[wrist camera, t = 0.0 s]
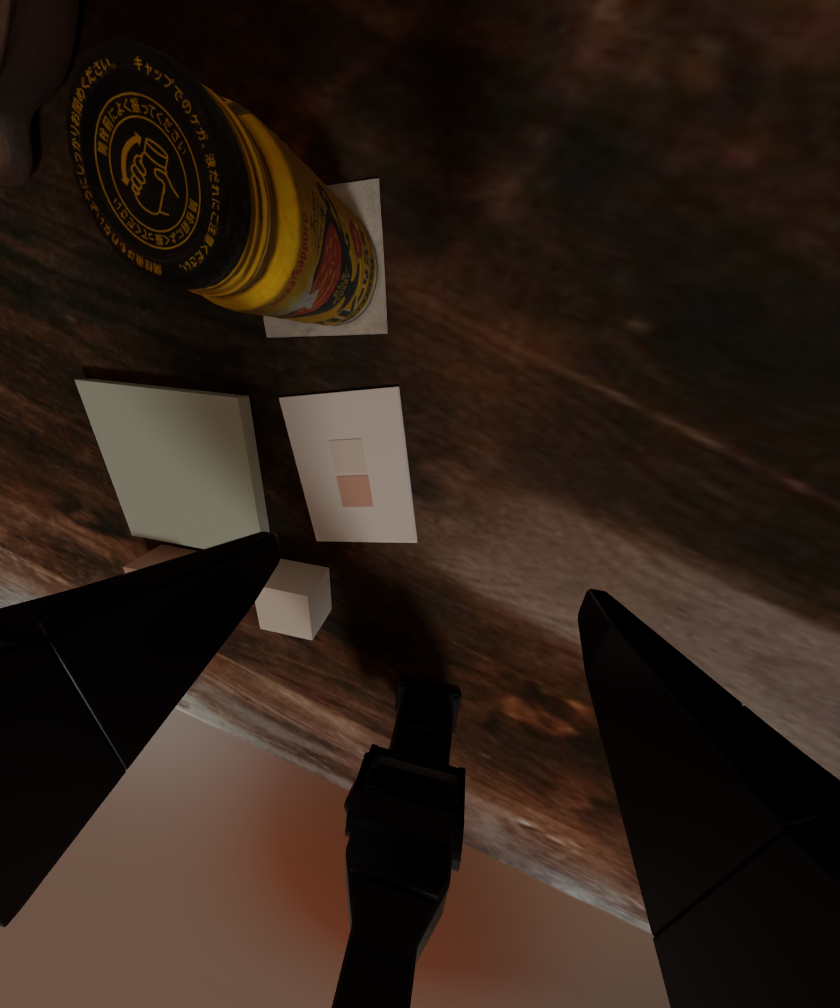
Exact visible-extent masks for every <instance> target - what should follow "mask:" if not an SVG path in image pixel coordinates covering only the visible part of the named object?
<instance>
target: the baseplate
mask: <svg viewBox="0 0 840 1008" xmlns="http://www.w3.org/2000/svg"><path fill="white" fill-rule="evenodd" d="M75 382H76V385H77V388H78V390H79V393H80V396H81V399H82V401H83V404H84V407H85V409H86V412H87V415H88V417H89V420H90V423H91V426H92V428H93V431H94V434H95V436H96V439H97V442H98V445H99V447H100V450H101V453H102V455H103V458H104V461H105V463H106V466H107V469H108V472H109V474H110V477H111V480H112V482H113V485H114V488H115V490H116V493H117V496H118V499H119V501H120V504H121V507H122V509H123V512H124V515H125V517H126V520H127V523H128V526H129V528H130V531H131V534H132V535H133V536H138V537H143V538H149V539H154V540H159V541H164V542H170V543H175V544H180V545H185V546H191V547H196V548H201V549H206V548H209V547H213V546H216V545H219V544H222V543H226V542H229V541H232V540H235V539H239V538H242V537H245V536H248V535H252V534H255V533H258V532H262V531H265V532H270V531H269V524H268V518H267V511H266V505H265V498H264V491H263V485H262V478H261V472H260V465H259V459H258V452H257V446H256V439H255V432H254V426H253V419H252V413H251V406H250V400H249V396H245V395H236V394H226V393H217V392H208V391H199V390H190V389H181V388H172V387H163V386H154V385H145V384H136V383H126V382H117V381H108V380H99V379H79V380H75Z"/></svg>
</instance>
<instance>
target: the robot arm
mask: <svg viewBox="0 0 840 1008" xmlns="http://www.w3.org/2000/svg"><path fill="white" fill-rule="evenodd" d="M279 561H280V549H279V542H278V537H277V535H276V534H275V533H271V532H265V531H262V532H258V533H255V534H252V535H248V536H245V537H242V538H239V539H235V540H232V541H229V542H226V543H222V544H219V545H216V546H213V547H209V548H206V549H203V550H200V551H196V552H193V553H190V554H187V555H183V556H180V557H177V558H174V559H170V560H167V561H164V562H161V563H157V564H154V565H151V566H148V567H144V568H141V569H138V570H135V571H131V572H128V573H126V574H125V575H124V574H121V575H118V576H115V577H112V578H108V579H105V580H102V581H98V582H95V583H92V584H88V585H85V586H81V587H78V588H74V589H71V590H67V591H64V592H60V593H56V594H53V595H49V596H45V597H42V598H38V599H34V600H30V601H27V602H23V603H19V604H15V605H11V606H8V607H4V608H0V926H1V927H6V926H7V925H8V924H9V923H10V921H11V920H12V919H13V918H14V917H15V916H16V914H17V913H18V912H19V911H20V910H21V908H22V907H23V906H24V904H25V903H26V902H27V901H28V899H29V898H30V897H31V895H32V894H33V893H34V891H35V890H36V889H37V887H38V886H39V884H40V883H41V882H42V881H43V880H44V878H45V877H46V876H47V874H48V873H49V872H50V870H51V869H52V868H53V866H54V865H55V864H56V863H57V861H58V860H59V858H60V857H61V856H62V855H63V853H64V852H65V851H66V849H67V848H68V847H69V846H70V844H71V843H72V842H73V840H74V839H75V838H76V836H77V835H78V834H79V832H80V831H81V830H82V829H83V827H84V826H85V825H86V823H87V822H88V821H89V819H90V818H91V817H92V815H93V814H94V813H95V811H96V810H97V809H98V807H99V806H100V805H101V803H102V802H103V801H104V800H105V798H106V797H107V796H108V794H109V793H110V792H111V791H112V789H113V788H114V787H115V785H116V784H117V783H118V781H119V780H120V779H121V777H122V776H123V775H124V774H125V772H126V769H128V768H129V766H130V765H131V764H132V763H133V761H134V760H135V759H136V758H137V756H138V755H139V754H140V752H141V751H142V750H143V748H144V747H145V746H146V744H147V743H148V742H149V740H150V739H151V738H152V736H153V735H154V734H155V733H156V731H157V730H158V729H159V727H160V726H161V725H162V723H163V722H164V721H165V720H166V718H167V717H168V715H169V714H170V713H171V712H172V710H173V709H174V708H175V706H176V705H177V704H178V703H179V701H180V700H181V699H182V697H183V696H184V695H185V693H186V692H187V691H188V689H189V688H190V687H191V686H192V684H193V683H194V682H195V680H196V679H197V678H198V676H199V675H200V674H201V672H202V671H203V670H204V669H205V667H206V666H207V665H208V663H209V662H210V661H211V659H212V658H213V657H214V655H215V654H216V653H217V652H218V650H219V649H220V648H221V646H222V645H223V644H224V642H225V641H226V640H227V638H228V637H229V636H230V635H231V633H232V632H233V631H234V629H235V628H236V627H237V625H238V624H239V623H240V621H241V620H242V619H243V618H244V616H245V615H246V614H247V612H248V611H249V610H250V608H251V607H252V605H253V604H254V602H255V601H256V599H257V598H258V596H259V595H260V593H261V591H262V590H263V588H264V587H265V585H266V583H267V582H268V580H269V578H270V577H271V575H272V574H273V572H274V570H275V569H276V567H277V565H278V564H279ZM578 624H579V632H580V639H581V646H582V654H583V661H584V668H585V674H586V679H587V683H588V687H589V691H590V695H591V699H592V703H593V707H594V710H595V714H596V718H597V722H598V726H599V730H600V734H601V738H602V742H603V745H604V749H605V753H606V757H607V761H608V765H609V769H610V773H611V776H612V780H613V784H614V788H615V792H616V796H617V800H618V804H619V808H620V811H621V815H622V819H623V823H624V827H625V831H626V835H627V839H628V843H629V846H630V850H631V854H632V858H633V862H634V866H635V870H636V874H637V878H638V881H639V885H640V889H641V893H642V897H643V901H644V905H645V909H646V912H647V916H648V920H649V924H650V928H651V932H652V934H653V936H655V937H654V938H653V941H654V944H655V949H656V953H657V956H658V960H659V964H660V968H661V972H662V976H663V980H664V984H665V987H666V991H667V995H668V999H669V1003H670V1007H671V1008H840V780H839V779H837V778H836V777H835V776H833V775H832V774H831V773H829V772H828V771H827V770H825V769H824V768H823V767H821V766H820V765H819V764H818V763H816V762H815V761H814V760H812V759H811V758H810V757H808V756H807V755H806V754H804V753H803V752H802V751H801V750H799V749H798V748H797V747H796V746H794V745H793V744H792V743H791V742H789V741H788V740H787V739H786V738H784V737H783V736H782V735H781V734H779V733H778V732H777V731H776V730H774V729H773V728H772V727H771V726H769V725H768V724H767V723H766V722H764V721H763V720H762V719H761V718H759V717H758V716H757V715H756V714H755V713H753V712H752V711H751V710H750V709H749V708H747V707H746V706H742V703H741V702H740V701H739V700H737V699H736V698H735V697H734V696H733V695H731V694H730V693H729V692H728V691H726V690H725V689H724V688H723V687H722V686H720V685H719V684H718V683H717V682H716V681H714V680H713V679H712V678H711V677H709V676H708V675H707V674H706V673H705V672H703V671H702V670H701V669H700V668H698V667H697V666H696V665H695V664H694V663H692V662H691V661H690V660H689V659H687V658H686V657H685V656H684V655H683V654H681V653H680V652H679V651H678V650H676V649H675V648H674V647H673V646H672V645H670V644H669V643H668V642H667V641H666V640H664V639H663V638H662V637H661V636H659V635H658V634H657V633H656V632H655V631H653V630H652V629H651V628H650V627H648V626H647V625H646V624H645V623H644V622H642V621H641V620H640V619H639V618H637V617H636V616H635V615H634V614H633V613H631V612H630V611H629V610H628V609H627V608H625V607H624V606H623V605H622V604H620V603H619V602H618V601H617V600H616V599H614V598H613V597H612V596H611V595H609V594H608V593H607V592H605V591H600V590H595V589H589V590H588V591H587V592H586V594H585V597H584V599H583V602H582V605H581V607H580V610H579V613H578ZM460 702H461V693H460V692H459V691H456V690H452V689H447V688H443V687H439V686H434V685H430V684H426V683H422V682H417V681H413V680H409V679H404V678H401V679H400V680H399V684H398V697H397V713H396V722H395V726H394V730H393V734H392V738H391V742H390V746H389V749H385V748H382V747H378V745H375V744H372V745H371V748H370V751H369V752H367V753H365V755H364V758H363V761H362V765H361V768H360V771H359V773H358V776H357V778H356V780H355V782H354V784H353V786H352V788H351V790H350V792H349V794H348V796H347V798H346V801H345V804H344V808H345V811H346V814H347V818H346V830H345V836H346V837H349V841H348V844H347V848H346V887H347V898H348V907H349V919H350V928H351V931H350V935H349V939H348V943H347V947H346V952H345V956H344V960H343V964H342V968H341V972H340V976H339V981H338V984H337V988H336V992H335V996H334V1000H333V1005H332V1008H410V1003H411V995H412V987H413V979H414V971H415V964H416V962H417V961H418V959H419V957H420V955H421V953H422V951H423V949H424V948H425V946H426V944H427V942H428V940H429V938H430V936H431V935H432V933H433V931H434V929H435V927H436V925H437V923H438V922H439V920H440V918H441V916H442V913H443V909H444V904H445V900H446V897H447V892H448V889H449V885H450V878H451V870H454V871H457V872H458V871H459V867H460V860H461V852H462V843H463V831H464V804H465V768H461V767H459V768H457V767H453V766H449V758H450V748H451V738H452V733H454V731H455V727H456V722H457V717H458V712H459V707H460Z"/></svg>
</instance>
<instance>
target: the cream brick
mask: <svg viewBox="0 0 840 1008" xmlns="http://www.w3.org/2000/svg"><path fill="white" fill-rule="evenodd" d="M255 604H256V609H257V614H258V619H259V624H260V629H264V630H268V631H273V632H277V633H282V634H286V635H291V636H295V637H300V638H304V639H308V640H313V638H314V637H315V635H316V634H317V632H318V630H319V629H320V627H321V625H322V624H323V622H324V621H325V619H326V617H327V616H328V614H329V613H330V611H331V609H332V608H331V592H330V576H329V568H328V567H322V566H317V565H312V564H307V563H301V562H296V561H291V560H285V559H280V561H279V564H278V565H277V567H276V569H275V570H274V572H273V574H272V575H271V577H270V578H269V580H268V582H267V583H266V585H265V587H264V588H263V590H262V591H261V593H260V595H259V596H258V598H257V599H256V601H255Z"/></svg>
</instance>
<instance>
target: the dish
mask: <svg viewBox="0 0 840 1008" xmlns="http://www.w3.org/2000/svg"><path fill="white" fill-rule="evenodd" d="M78 8H79V0H0V185H5V186H10V187H14V186H20V185H23V184H24V183H25V182H26V181H27V179H28V178H29V177H30V175H31V174H32V165H33V153H32V142H31V131H30V130H31V123H32V118H33V115H34V113H35V111H36V110H37V109H38V107H39V106H40V105H41V104H43V103H44V102H45V101H46V100H48V99H49V98H50V97H51V96H52V95H53V94H54V93H55V92H56V91H57V89H58V88H59V87H60V85H61V84H62V82H63V80H64V78H65V75H66V73H67V71H68V68H69V65H70V61H71V58H72V54H73V49H74V43H75V37H76V31H77V22H78Z"/></svg>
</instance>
